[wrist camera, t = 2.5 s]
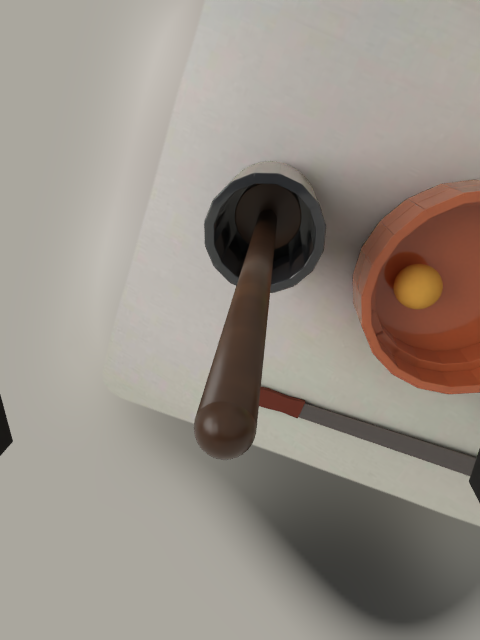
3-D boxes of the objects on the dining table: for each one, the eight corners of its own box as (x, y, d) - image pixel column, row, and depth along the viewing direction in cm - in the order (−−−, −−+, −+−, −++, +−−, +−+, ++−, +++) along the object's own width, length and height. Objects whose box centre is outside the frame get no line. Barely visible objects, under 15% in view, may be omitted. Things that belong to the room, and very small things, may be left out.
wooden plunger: (224, 210, 38) (62, 435, 10) (271, 165, 36) (220, 294, 8) (266, 255, 39) (221, 558, 12) (313, 213, 37) (390, 462, 10)
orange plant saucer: (313, 271, 40) (318, 294, 35) (483, 132, 34) (520, 133, 28) (421, 389, 44) (440, 426, 39) (589, 284, 38) (640, 311, 33)
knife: (516, 488, 48) (518, 492, 48) (229, 394, 47) (228, 397, 46) (529, 472, 47) (532, 476, 47) (235, 376, 46) (235, 379, 45)
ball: (380, 277, 39) (389, 293, 35) (417, 249, 38) (431, 262, 34) (405, 307, 40) (417, 325, 36) (443, 280, 38) (459, 296, 35)
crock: (204, 207, 39) (180, 233, 30) (272, 139, 36) (267, 144, 27) (266, 272, 41) (260, 314, 32) (335, 212, 38) (350, 240, 29)
